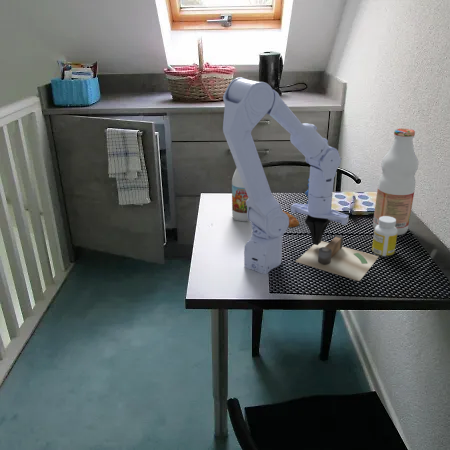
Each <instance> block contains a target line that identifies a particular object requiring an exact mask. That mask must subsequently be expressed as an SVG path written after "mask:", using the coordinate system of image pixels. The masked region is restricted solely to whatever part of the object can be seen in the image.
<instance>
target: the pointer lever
mask: <svg viewBox="0 0 450 450" xmlns="http://www.w3.org/2000/svg"><path fill="white" fill-rule="evenodd" d="M328 243H329V244H328V245H326V246H325V247H322V248H320V249H319V255H318V262H319V263H321V264H329V263H331V258H332V257H333V256H334V255H335V254H336V253H337V252H338V251H339V250H340V249H341V248H342V247H343V244H344V236H343V235H339V234H336V235H335V237H334V238H333V239H332V240H330V242H328Z"/></svg>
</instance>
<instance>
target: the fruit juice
mask: <svg viewBox="0 0 450 450" xmlns="http://www.w3.org/2000/svg"><path fill="white" fill-rule="evenodd" d="M415 135H416V131H415V130H414V129H412V128H404V127H403V128H396V129H394V132H393V136H394V139H393V141H392V144H391V146H390V147H389V149H388V151H387V152H386V154H385V155H384V156H383V157H382V159H381V163H380V164H381V175H380V176H379V179H378V183H377V191H376V199H375V205H374V214H373V220H372V228H373V229H374V230H375V227H376V226H377V225H379V224H378V221H379V218H380V217H382V216H390V217H393V218H395V219H396V225H395V227H396V228H397V231H398V232H397V236H401V235H405V234H406V233H407V232H408V230H409V225H410V220H411V213H412V208H413V202H414V197H415V196H414V195H415V191H416V185H417V184H416V181H417V180H416V177H415V175H416V173H417V171H418V168H419V159H418V157H417V155H416V153H415V149H414V148H415V147H414V143H413V142H414V141H413V139H414V138H415Z"/></svg>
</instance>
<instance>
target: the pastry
mask: <svg viewBox="0 0 450 450" xmlns="http://www.w3.org/2000/svg"><path fill="white" fill-rule="evenodd" d="M282 211H283V212H284V213H286V214H287V216H288V218H289V226H288V228H296V227H298V226H299V225H300V221H299V220H298V219H297V217H295V216H294V215H293V214H290V213H289V212H288V211H285V210H282Z"/></svg>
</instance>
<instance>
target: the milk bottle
mask: <svg viewBox="0 0 450 450" xmlns="http://www.w3.org/2000/svg"><path fill="white" fill-rule="evenodd" d="M247 199H248V196H247V193H246V190H245V188H244V185H243V182H242V180H241V177H240V175H239V172H238V169H237V167H236V168H235V171H234V173H233V176H232V179H231V211H232V214H231V215H232V218H233V219H234V220H235V221H238V222H250V221H249V219H248V217H247V204H246V201H247Z"/></svg>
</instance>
